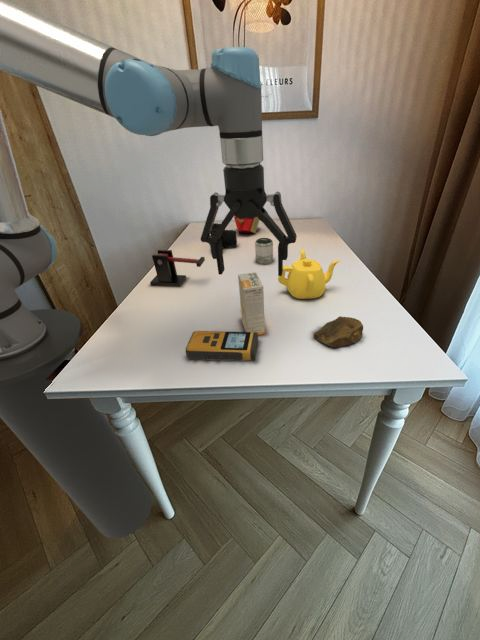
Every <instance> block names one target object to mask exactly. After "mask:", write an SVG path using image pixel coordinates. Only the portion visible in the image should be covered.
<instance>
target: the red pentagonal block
mask: <svg viewBox="0 0 480 640" xmlns="http://www.w3.org/2000/svg"><path fill="white" fill-rule="evenodd" d="M233 220H234V222H235V226H236V229H237V231H238V233H246V234H256V233H257V229H258V226H259V223H260V220H259V219H258V217H255V218H254V219H248V218H244V219H238V218H237V217H236V216H235V215H234V217H233Z"/></svg>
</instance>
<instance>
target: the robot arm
mask: <svg viewBox="0 0 480 640" xmlns="http://www.w3.org/2000/svg"><path fill="white" fill-rule="evenodd" d="M260 70H261V69H260V57H259V54H258V53H257V52H256V50H254V49H253V48H251V47H247V46H246V47H245V46H229V47H223V48H215V50H213V51H212V53H211V63H210V66H209V67H205V68H200V69H174V68H169V67H166V66H161V65H157V64H153V63H150V62H149V61H146V60H143V59H141V58H139V57H137V56H135V55H132V54H130V53H128V52H125V51H123V50H120V49H117V48H116V47H114V46H111V45H109V44H107V43H105V42H103V41H100V40H98V39H96V38H94V37H91V36H90V35H88V34H87V35H86V34H84V33H82V32H80V31H78V30H76V29H74V28H71V27H69V26H66V25H64V24H62V23H61V22H57V21H55V20H53V19H51V18H49V17H46V16H44V15H42V14H40V13H38V12H36V11H33V10H31V9H28V8H26V7H24V6H22V5H19V4H18V3H15V2H13V1H11V0H0V71H1V72H3V73H6V74H7V75H10V76H12V77H15V78H17V79H19V80H22V81H24V82H27V83H29V84H32V85H34V86H37V87H39V88H42V89H44V90H47V91H49V92H51V93H54V94H56V95H58V96H60V97H63V98H66V99H68V100H71V101H73V102H76V103H78V104H80V105H82V106H85V107H87V108H90V109H92V110H95V111H97V112H100V113H102V114H105V115H107V116H109V117H111V118H114V119H115V120H116V121H117V122H118V123H119V125H120V126H122V127H123V128H124V129H125V130H126V131H128V132H130V133H132V134H135V135H138V136H147V137H155V136H159V135H161V134H163V133H166V132H172V131H176V130H182V129H190V128H202V127H204V128H205V127H218V131H219V141H220V142H219V143H220V152H221V161H222V162H221V163H222V164H224V165H225V166H224V167H223V181H224V190H225V192H224V193H225V194H219V193H218V192H216V191H215V192H214V193H212V194H211V195H210V196H209V206H210V207H209V210H208V213H207V216H206V220H205V223H204V226H203V230H202V232H201V236H200V242H201V243H207V244H209V246H210V247H209V248H210V252H211V257H212V259H213V260H216V265H217V273H218V274H217V275H223V273H224V272H225V262H224V253H223V248H222V244H221V242H217V240H218V239H219V237H220V236H221V234H222V233H223V231H224V230H226V229H227V227H228V226H229V224H230V222H231V221H232V220H233V219H234V215H235V216H236V217H237V218H238V219H244V218H248V219H254V218H255V217H258V219H259V222H262V223H263V225H264V226H265V227H266V228H267V229H268V231H269V232H270V233H271V234H272V235H273V237H274V238H275V239H276V240H277V241H278V244H277V276H278V277H279V276H282V272H283V266H284V261H287V259H288V257H289V245H290V244H295V243H296V242H297V238H298V237H297V236H298V235H297V233H296V231H295V229H294V227H293V225H292V222H291V220H290V218H289V216H288V214H287V212H286V210H285V208H284V205H283V202H282V193H281V192H280V191H275V193H269V194H267V193H266V190H265V167H264V166H263V165H262V164H261V163H262V162H263V161H264V146H263V145H264V142H263V141H264V139H263V107H262V106H263V104H262V84H261V83H262V82H261V71H260ZM267 202H268V203H269V204H270V206H271V207H273V208H274V210H275V213H276V215H277V217H278V219H279V221H280V223H281V225H282V227H283V230H284V231H285V233H284V231H283V230H282V229H281V228H280V227H279V225H278V224H277V223H276V222H275V221H274V219H273V218H272V217H271V216H270V214H269V212H268V210H266V209H265V207H264V206H265V205H266V203H267ZM223 203H224V204H225V205H226V207H227V208H228V209H229V211H228V212H227V214H226V215H225V217H224V219H222V221H221V223H220V224H221V225H220V226H219V227H218V229H217V230H216V232H215V233H214V235H213V236H211V234H210V233H211V230H212V227H213V224H214V223H215V221H216V218H217V215H218V211H219V208H220V207H221V206H222V205H223ZM57 255H58V249H57V244H56V241H55V240H54V237H53V235H51V234H50V233H48V229H46V228H45V227H44V226H43V225H41V224H40V221H39V219H38V218H36V217H35V216H33V215H32V214H31V213H30V212H29V208H28V205H27V202H26V198H25V194H24V191H23V187H22V183H21V180H20V175H19V172H18V169H17V164H16V161H15V157H14V154H13V150H12V147H11V143H10V140H9V136H8V132H7V129H6V125H5V121H4V117H3V113H2V110H1V109H0V361H4V360H8V359H11V358H14V357H17V356H20V355H22V354H24V353H26V352H28V351H30V350H32V349H34V348H35V347H37V346H38V345H39V344H40V343H41V342H43V340H44V339H45V338H46V336H47V334H48V330H47V328H46V326H45V324H44V323H43V322H42V321H41V320H40V319H39V318H38V317H37V316H35V315H34V314H33V313H32V312H31V310H30V309H28V308H27V307H26V306H25V305H24V304H23V302H22V301H21V299H20V297H19V295H18V294H17V292H16V289H18V288H19V287H21V286H23V285H24V284H26V283H27V282H29V281H31V280H32V279H33V278H35V277H36V276H38V275H41V274H43V273H44V272H46V271H47V270H48V269H49V268H50V267H51V266H52V265H54V263H55V261H56V259H57Z"/></svg>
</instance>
